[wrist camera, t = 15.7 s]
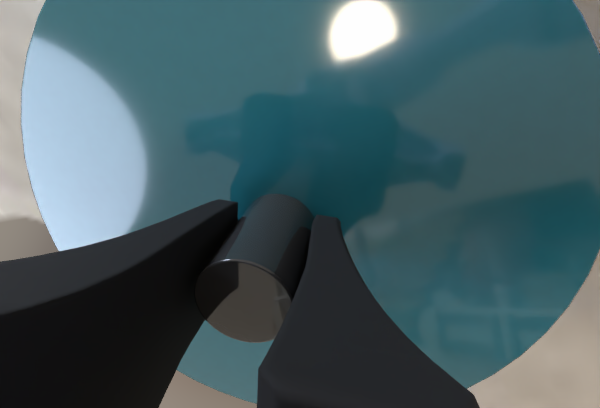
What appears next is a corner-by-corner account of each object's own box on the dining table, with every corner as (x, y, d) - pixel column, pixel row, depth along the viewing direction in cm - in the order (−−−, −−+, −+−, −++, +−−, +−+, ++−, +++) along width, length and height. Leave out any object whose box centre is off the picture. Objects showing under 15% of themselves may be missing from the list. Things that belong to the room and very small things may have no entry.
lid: (736, 225, 10) (1011, 368, 6) (306, 441, 17) (286, 568, 13) (238, -380, 7) (22, -1047, 3) (-12, 203, 15) (-167, 270, 10)
